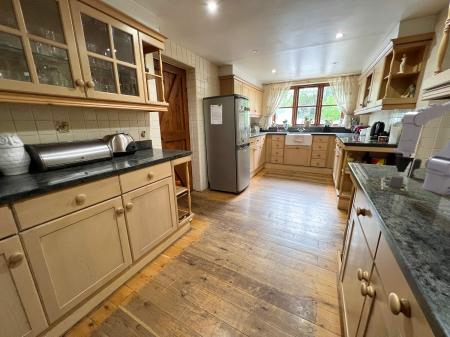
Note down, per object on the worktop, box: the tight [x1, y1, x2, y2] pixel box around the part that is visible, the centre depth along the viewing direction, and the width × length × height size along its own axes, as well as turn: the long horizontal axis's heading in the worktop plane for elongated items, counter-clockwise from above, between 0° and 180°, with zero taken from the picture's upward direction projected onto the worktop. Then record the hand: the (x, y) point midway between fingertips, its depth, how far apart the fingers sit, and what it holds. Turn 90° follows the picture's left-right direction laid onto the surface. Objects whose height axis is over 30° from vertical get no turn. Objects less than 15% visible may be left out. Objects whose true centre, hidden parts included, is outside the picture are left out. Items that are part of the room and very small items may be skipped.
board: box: [380, 176, 410, 196], centre depth 92 cm, size 21×10×2 cm, turn 141°
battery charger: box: [406, 157, 423, 179], centre depth 106 cm, size 7×4×11 cm, turn 129°
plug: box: [388, 174, 405, 189], centre depth 87 cm, size 4×4×6 cm
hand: (399, 170), depth 86 cm, fingers open, 7 cm apart
